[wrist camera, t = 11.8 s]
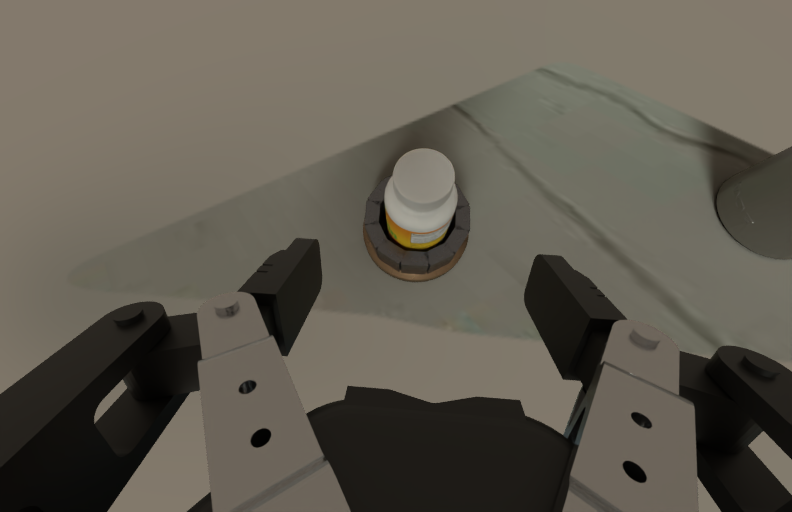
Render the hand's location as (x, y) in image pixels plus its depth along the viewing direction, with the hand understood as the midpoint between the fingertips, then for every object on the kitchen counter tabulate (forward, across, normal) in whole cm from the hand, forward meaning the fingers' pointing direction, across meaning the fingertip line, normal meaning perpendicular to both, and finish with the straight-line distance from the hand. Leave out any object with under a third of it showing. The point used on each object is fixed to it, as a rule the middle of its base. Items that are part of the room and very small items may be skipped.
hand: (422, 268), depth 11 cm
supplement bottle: (+16, 0, +6) cm, 17 cm away
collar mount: (+17, 0, +6) cm, 18 cm away
